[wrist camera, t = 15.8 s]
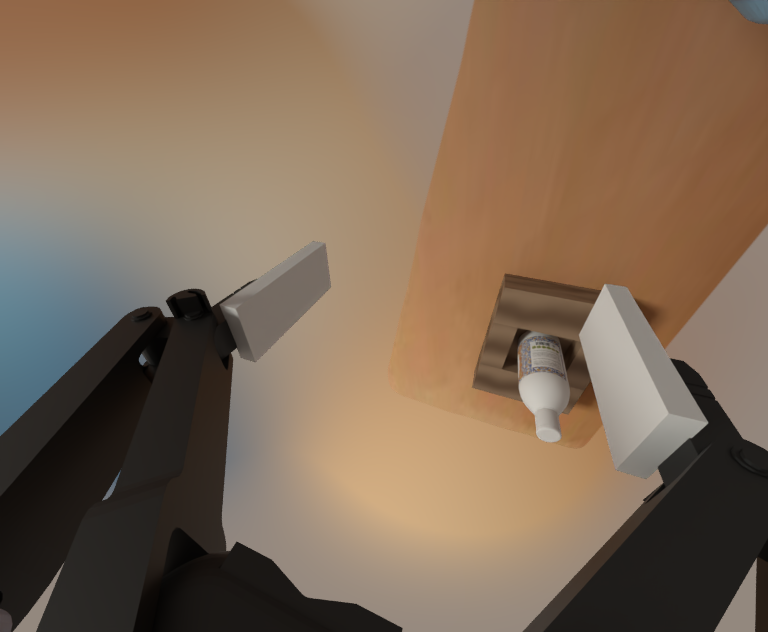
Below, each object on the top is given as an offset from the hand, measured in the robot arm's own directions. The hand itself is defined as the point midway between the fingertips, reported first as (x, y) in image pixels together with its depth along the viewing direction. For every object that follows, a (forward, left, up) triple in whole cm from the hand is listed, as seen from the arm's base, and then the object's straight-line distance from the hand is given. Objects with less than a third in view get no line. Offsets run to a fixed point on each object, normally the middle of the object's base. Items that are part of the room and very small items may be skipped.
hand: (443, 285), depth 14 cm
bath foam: (+14, +29, -36) cm, 48 cm away
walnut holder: (+14, +29, -36) cm, 48 cm away
